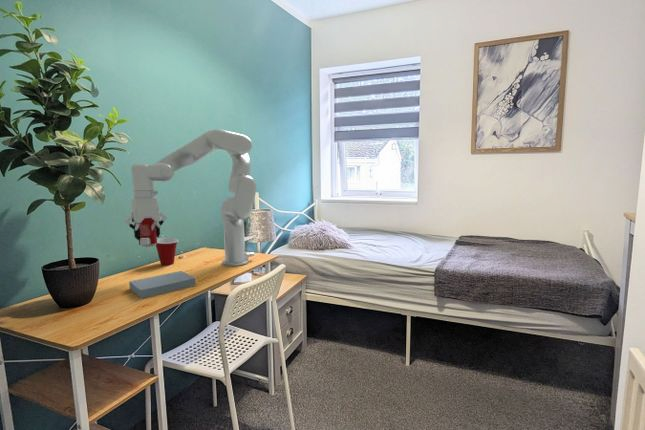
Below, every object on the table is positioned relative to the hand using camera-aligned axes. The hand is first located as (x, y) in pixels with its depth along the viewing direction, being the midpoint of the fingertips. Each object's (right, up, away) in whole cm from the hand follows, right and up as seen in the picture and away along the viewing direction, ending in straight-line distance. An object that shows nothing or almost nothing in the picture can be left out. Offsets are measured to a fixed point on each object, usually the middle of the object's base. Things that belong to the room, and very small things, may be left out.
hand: (147, 237), depth 148 cm
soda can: (0, -3, 0) cm, 4 cm away
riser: (+10, -19, -9) cm, 23 cm away
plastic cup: (-3, -14, +25) cm, 29 cm away
